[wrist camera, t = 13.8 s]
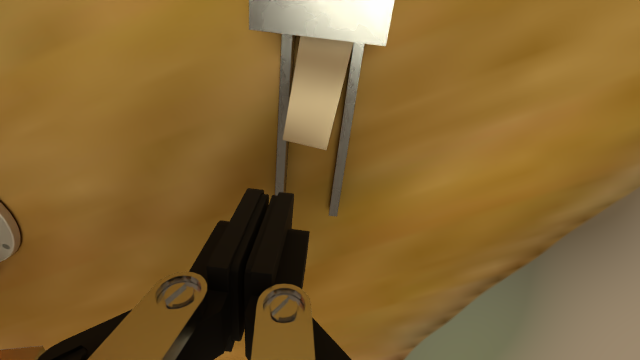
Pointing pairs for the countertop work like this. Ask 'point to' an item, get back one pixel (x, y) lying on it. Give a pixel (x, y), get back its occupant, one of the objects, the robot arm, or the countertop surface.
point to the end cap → (324, 19)
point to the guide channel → (350, 98)
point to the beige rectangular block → (316, 90)
